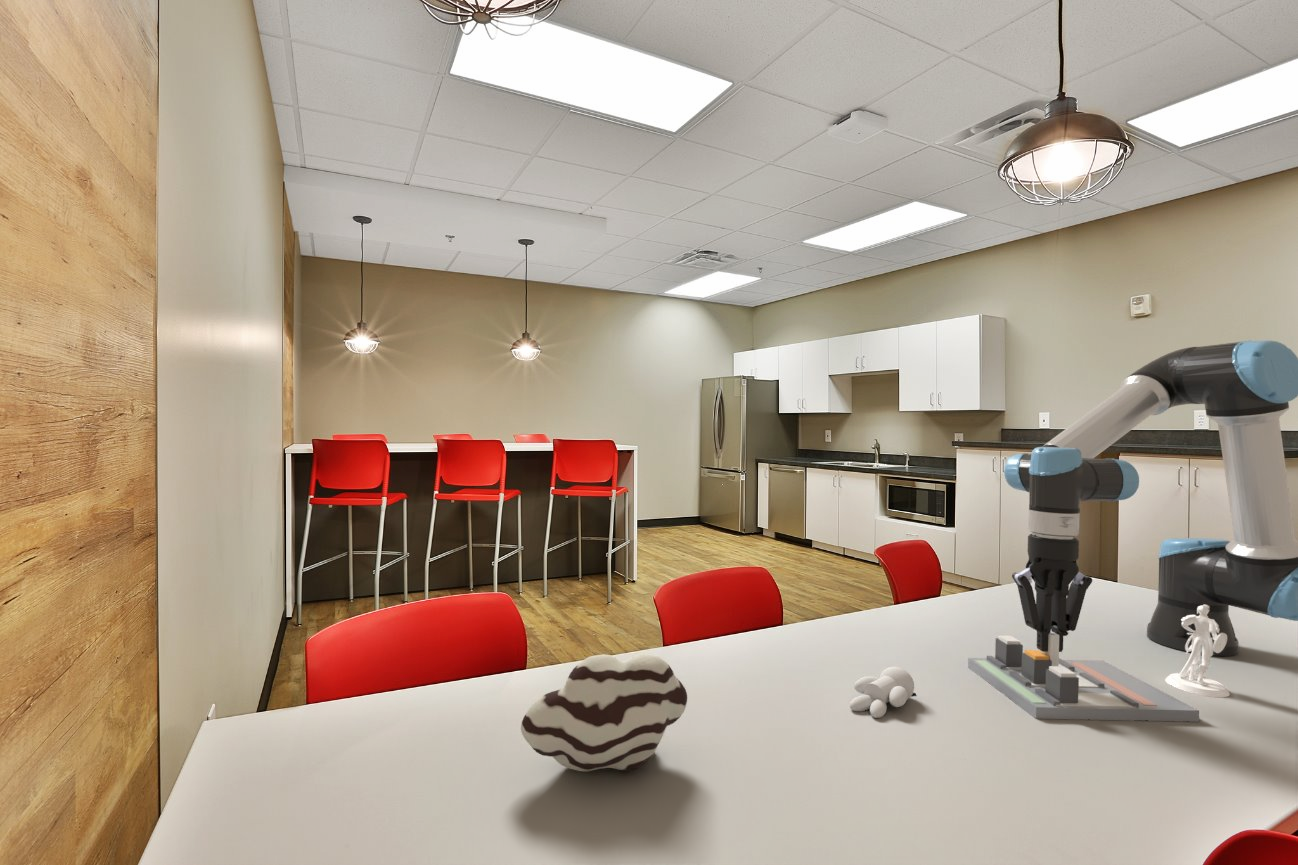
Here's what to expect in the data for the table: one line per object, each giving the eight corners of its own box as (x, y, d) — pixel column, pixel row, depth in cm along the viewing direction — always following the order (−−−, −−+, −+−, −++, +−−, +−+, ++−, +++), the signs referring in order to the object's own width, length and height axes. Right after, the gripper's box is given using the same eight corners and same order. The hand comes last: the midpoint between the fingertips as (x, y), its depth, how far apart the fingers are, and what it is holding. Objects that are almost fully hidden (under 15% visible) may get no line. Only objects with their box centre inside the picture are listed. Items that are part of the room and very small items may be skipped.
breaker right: (1063, 693, 104) (1064, 665, 104) (1078, 702, 101) (1079, 674, 101) (1045, 692, 104) (1046, 665, 104) (1059, 702, 101) (1060, 674, 101)
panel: (1102, 669, 121) (1103, 656, 121) (1198, 721, 100) (1199, 706, 100) (967, 667, 120) (968, 654, 120) (1035, 718, 99) (1036, 702, 99)
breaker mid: (1038, 675, 112) (1038, 649, 112) (1051, 683, 108) (1051, 657, 108) (1021, 674, 112) (1022, 649, 112) (1033, 683, 108) (1034, 656, 108)
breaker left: (1010, 659, 119) (1011, 635, 119) (1022, 666, 116) (1022, 641, 116) (995, 659, 119) (995, 635, 119) (1005, 666, 116) (1006, 641, 116)
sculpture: (673, 736, 91) (675, 633, 91) (704, 783, 79) (707, 666, 79) (516, 755, 85) (518, 646, 85) (524, 810, 73) (526, 683, 73)
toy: (883, 731, 96) (932, 701, 106) (884, 695, 96) (932, 668, 105) (836, 710, 103) (886, 684, 112) (836, 676, 102) (886, 653, 112)
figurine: (1242, 694, 111) (1245, 609, 111) (1208, 699, 108) (1211, 613, 108) (1186, 674, 119) (1188, 596, 119) (1153, 679, 116) (1156, 599, 116)
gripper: (1029, 538, 106) (1024, 677, 106) (1105, 540, 106) (1101, 678, 106) (1003, 530, 113) (999, 660, 114) (1075, 532, 113) (1071, 662, 114)
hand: (1049, 669), depth 110 cm, fingers closed
